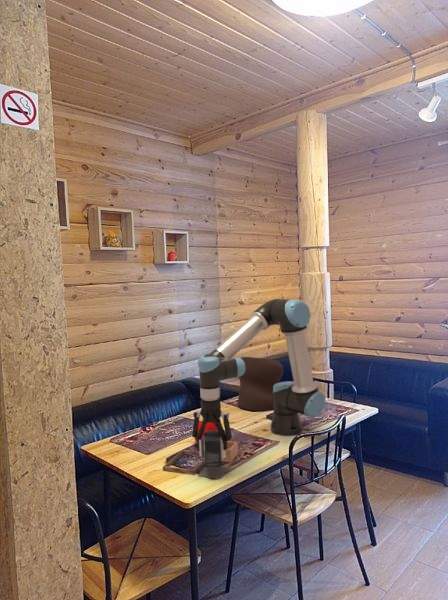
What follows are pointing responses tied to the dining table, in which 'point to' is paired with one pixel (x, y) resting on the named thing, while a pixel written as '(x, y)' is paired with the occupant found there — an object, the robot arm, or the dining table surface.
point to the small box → (212, 448)
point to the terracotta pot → (231, 451)
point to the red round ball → (207, 428)
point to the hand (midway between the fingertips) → (212, 456)
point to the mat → (213, 472)
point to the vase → (258, 383)
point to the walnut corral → (181, 470)
